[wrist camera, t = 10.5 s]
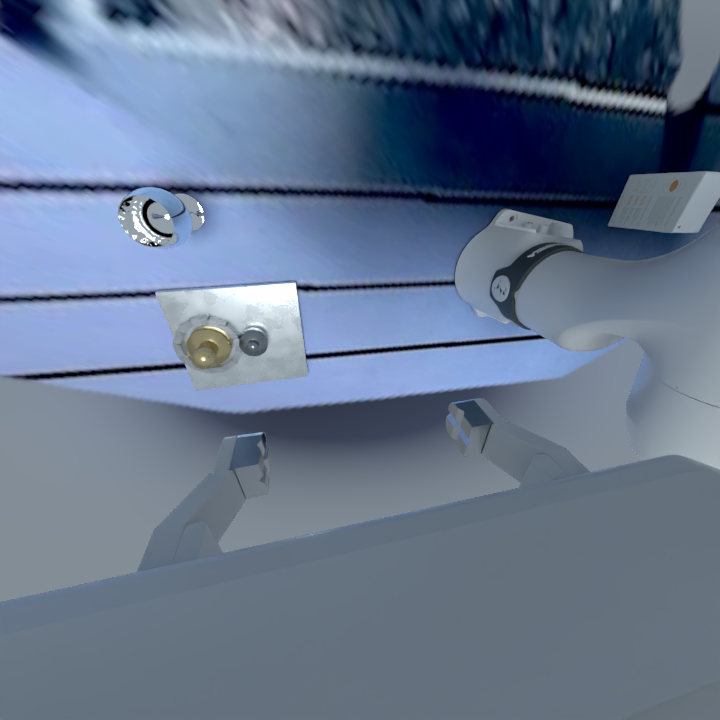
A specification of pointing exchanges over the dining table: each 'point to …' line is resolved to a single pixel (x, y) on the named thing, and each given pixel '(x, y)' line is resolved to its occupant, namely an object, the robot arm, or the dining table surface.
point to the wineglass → (160, 217)
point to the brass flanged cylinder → (208, 346)
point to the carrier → (240, 331)
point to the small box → (667, 201)
